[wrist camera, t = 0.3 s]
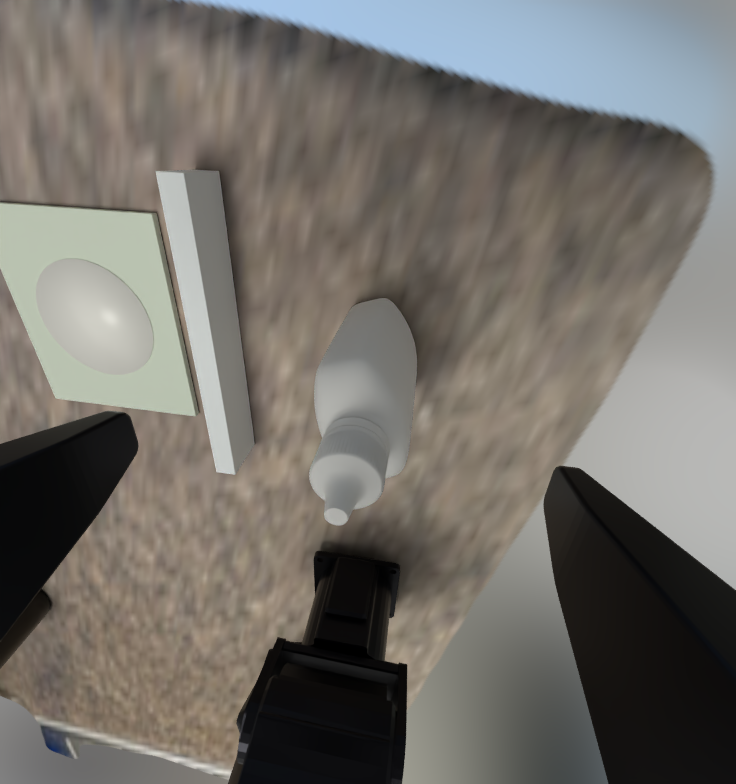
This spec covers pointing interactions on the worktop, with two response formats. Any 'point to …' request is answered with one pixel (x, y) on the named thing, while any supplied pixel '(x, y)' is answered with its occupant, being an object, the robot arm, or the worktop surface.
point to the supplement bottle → (24, 626)
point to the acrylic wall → (209, 308)
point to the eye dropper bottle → (363, 408)
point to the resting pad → (98, 304)
